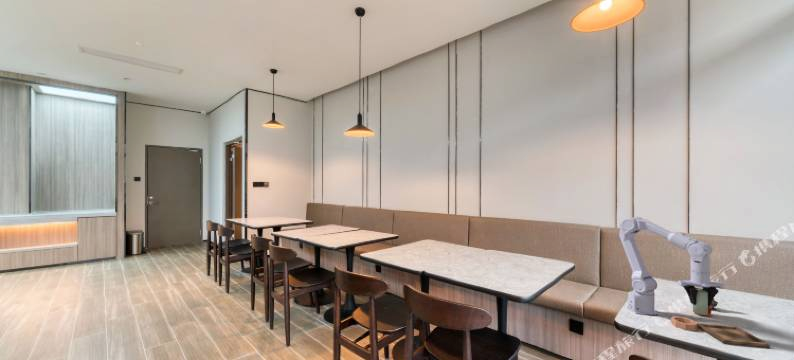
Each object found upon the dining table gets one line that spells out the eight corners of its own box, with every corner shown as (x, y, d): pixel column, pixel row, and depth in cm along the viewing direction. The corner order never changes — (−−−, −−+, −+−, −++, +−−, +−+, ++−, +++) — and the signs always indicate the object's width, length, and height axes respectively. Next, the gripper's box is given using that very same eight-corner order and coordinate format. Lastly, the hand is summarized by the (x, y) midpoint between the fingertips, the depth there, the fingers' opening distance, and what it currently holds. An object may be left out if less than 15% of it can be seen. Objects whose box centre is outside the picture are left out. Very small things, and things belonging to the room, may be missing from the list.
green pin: (698, 314, 124) (697, 292, 124) (690, 309, 128) (690, 288, 128) (710, 315, 123) (710, 293, 123) (702, 310, 127) (702, 289, 127)
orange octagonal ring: (679, 329, 126) (679, 323, 126) (667, 321, 133) (667, 315, 133) (701, 331, 124) (701, 325, 124) (688, 322, 132) (688, 317, 132)
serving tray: (723, 343, 115) (723, 340, 115) (696, 326, 129) (696, 322, 129) (769, 348, 112) (769, 344, 112) (736, 329, 126) (736, 326, 126)
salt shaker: (697, 306, 149) (697, 281, 149) (708, 305, 149) (708, 281, 149) (710, 311, 143) (710, 286, 143) (721, 311, 143) (721, 285, 143)
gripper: (686, 273, 123) (686, 306, 123) (729, 275, 120) (729, 309, 120) (674, 268, 130) (674, 300, 130) (715, 270, 127) (715, 302, 127)
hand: (700, 304), depth 126 cm, fingers closed on green pin, 4 cm apart
